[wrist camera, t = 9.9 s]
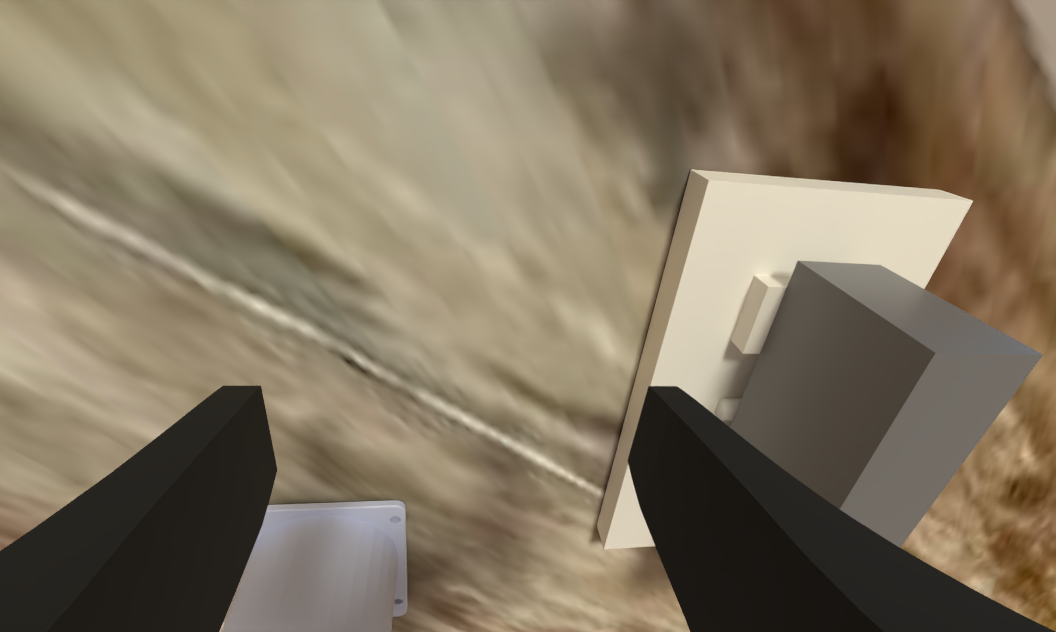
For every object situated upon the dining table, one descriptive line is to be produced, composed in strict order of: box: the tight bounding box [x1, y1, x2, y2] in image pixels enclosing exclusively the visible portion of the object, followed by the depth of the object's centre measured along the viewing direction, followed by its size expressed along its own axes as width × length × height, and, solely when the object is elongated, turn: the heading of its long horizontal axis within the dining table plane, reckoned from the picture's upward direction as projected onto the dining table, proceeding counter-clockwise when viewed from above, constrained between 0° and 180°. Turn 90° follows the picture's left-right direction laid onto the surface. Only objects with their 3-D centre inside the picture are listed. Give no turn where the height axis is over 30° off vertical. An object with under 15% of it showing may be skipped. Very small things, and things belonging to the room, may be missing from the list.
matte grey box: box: [730, 261, 1043, 548], centre depth 20 cm, size 15×4×6 cm, turn 174°
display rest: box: [597, 170, 973, 549], centre depth 23 cm, size 20×11×2 cm, turn 174°
